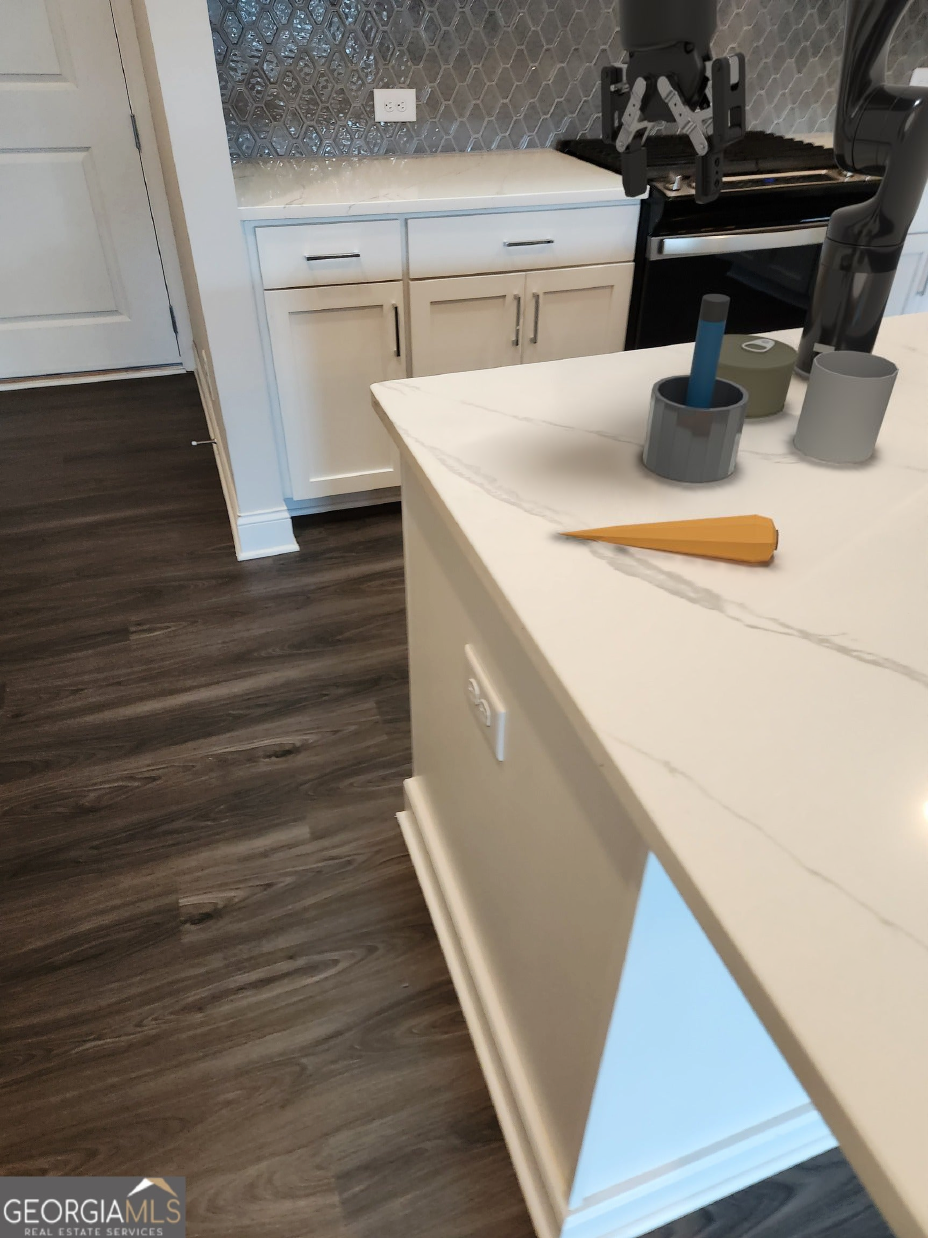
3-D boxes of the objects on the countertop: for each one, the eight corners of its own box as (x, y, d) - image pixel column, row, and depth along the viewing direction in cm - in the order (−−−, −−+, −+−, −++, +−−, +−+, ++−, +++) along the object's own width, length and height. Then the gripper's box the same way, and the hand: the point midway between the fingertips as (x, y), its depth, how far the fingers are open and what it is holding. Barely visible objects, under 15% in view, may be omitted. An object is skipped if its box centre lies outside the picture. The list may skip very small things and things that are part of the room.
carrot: (772, 560, 77) (776, 512, 76) (777, 569, 73) (782, 517, 72) (559, 553, 82) (560, 507, 81) (552, 560, 78) (553, 512, 76)
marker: (685, 454, 92) (712, 291, 82) (705, 461, 91) (735, 297, 80) (671, 461, 91) (697, 297, 80) (691, 469, 89) (720, 302, 79)
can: (668, 403, 105) (676, 349, 101) (720, 378, 112) (730, 327, 107) (753, 431, 98) (765, 375, 94) (803, 403, 105) (816, 349, 100)
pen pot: (676, 438, 97) (687, 367, 91) (751, 466, 91) (768, 392, 86) (623, 464, 91) (632, 390, 86) (699, 496, 85) (714, 418, 80)
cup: (876, 470, 90) (905, 381, 84) (797, 464, 91) (820, 375, 85) (863, 437, 96) (888, 352, 90) (789, 432, 98) (810, 348, 92)
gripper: (776, -52, 60) (763, 192, 70) (637, -27, 70) (643, 182, 80) (703, -35, 57) (701, 216, 67) (569, -12, 67) (584, 203, 77)
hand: (669, 198), depth 73 cm, fingers open, 8 cm apart
